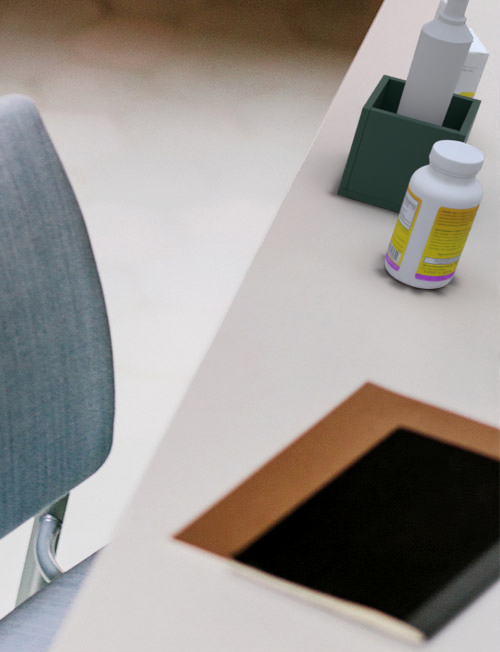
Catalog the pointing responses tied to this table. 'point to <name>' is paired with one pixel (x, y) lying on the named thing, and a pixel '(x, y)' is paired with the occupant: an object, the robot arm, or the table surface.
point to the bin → (397, 144)
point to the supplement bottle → (436, 216)
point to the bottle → (437, 65)
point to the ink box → (469, 63)
